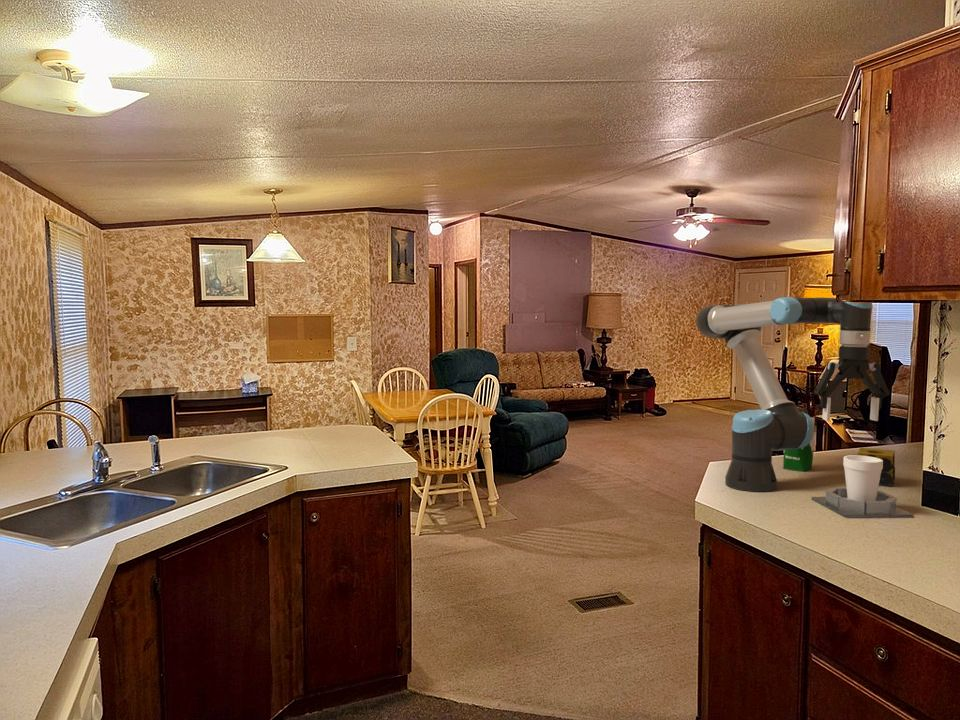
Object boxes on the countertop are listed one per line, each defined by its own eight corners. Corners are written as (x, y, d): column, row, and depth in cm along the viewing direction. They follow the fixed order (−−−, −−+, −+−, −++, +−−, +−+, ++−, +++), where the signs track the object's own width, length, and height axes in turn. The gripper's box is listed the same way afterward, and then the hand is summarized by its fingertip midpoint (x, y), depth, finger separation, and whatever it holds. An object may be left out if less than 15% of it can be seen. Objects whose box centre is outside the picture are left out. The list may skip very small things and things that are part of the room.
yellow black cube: (895, 481, 219) (896, 450, 218) (893, 487, 210) (894, 455, 210) (858, 476, 224) (859, 447, 224) (856, 483, 216) (857, 452, 215)
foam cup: (886, 511, 182) (887, 463, 182) (848, 508, 184) (850, 461, 184) (873, 501, 192) (875, 456, 191) (837, 499, 194) (839, 454, 193)
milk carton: (815, 468, 236) (817, 411, 234) (804, 472, 230) (806, 414, 228) (790, 464, 242) (791, 409, 241) (779, 468, 236) (780, 411, 235)
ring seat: (846, 518, 179) (846, 503, 179) (811, 499, 197) (811, 486, 197) (913, 517, 179) (914, 503, 179) (872, 499, 197) (873, 486, 197)
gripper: (816, 346, 188) (812, 422, 190) (906, 347, 188) (901, 422, 190) (803, 344, 195) (799, 417, 197) (890, 345, 195) (886, 418, 197)
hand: (849, 420), depth 193 cm, fingers open, 13 cm apart
